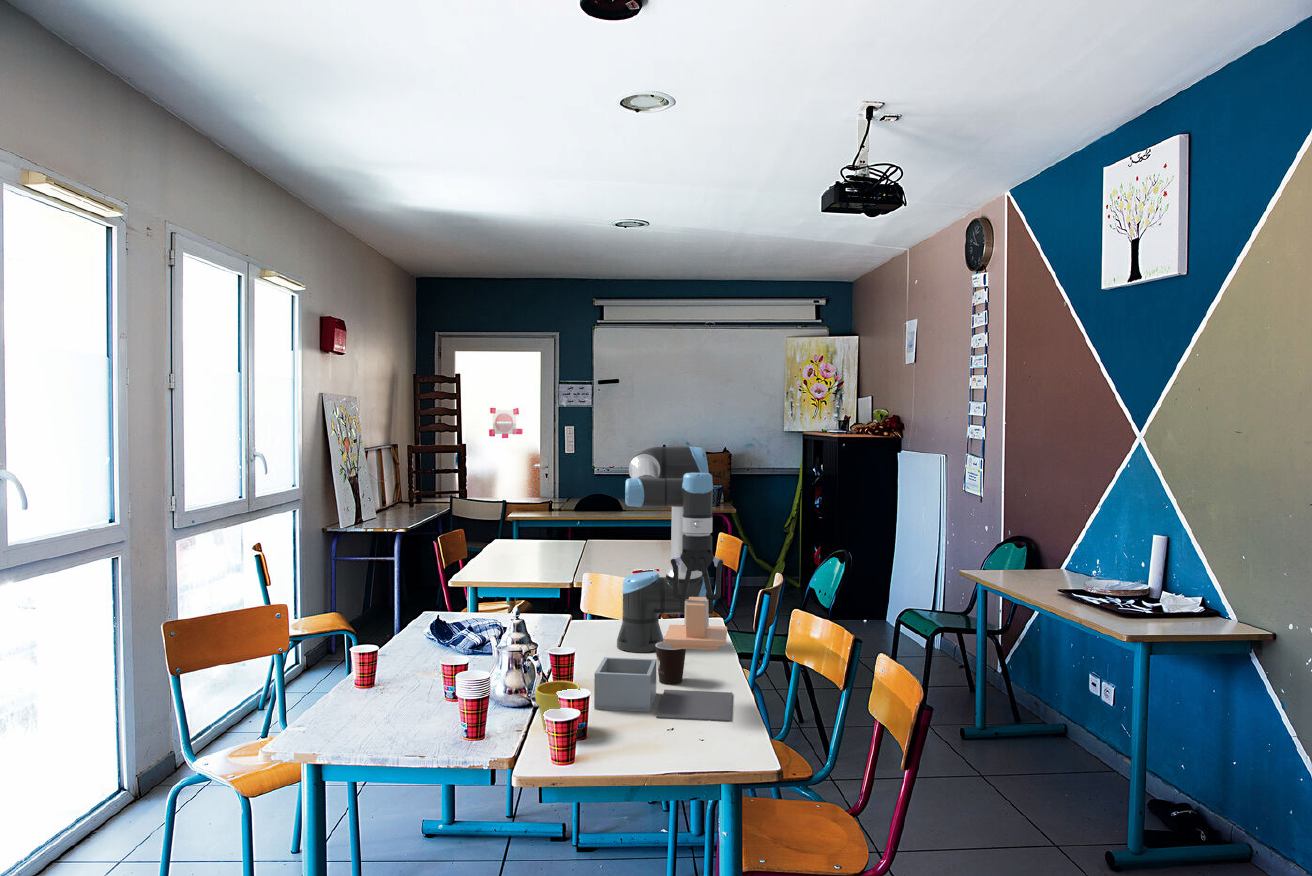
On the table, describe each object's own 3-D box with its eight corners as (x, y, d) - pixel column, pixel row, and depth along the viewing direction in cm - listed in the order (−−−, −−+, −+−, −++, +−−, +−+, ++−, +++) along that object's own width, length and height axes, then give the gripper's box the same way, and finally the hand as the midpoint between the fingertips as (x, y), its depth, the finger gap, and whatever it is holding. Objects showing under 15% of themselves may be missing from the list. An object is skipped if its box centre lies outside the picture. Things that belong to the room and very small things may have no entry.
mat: (664, 691, 214) (664, 689, 214) (732, 694, 213) (732, 692, 213) (656, 718, 195) (656, 716, 195) (730, 721, 193) (730, 719, 193)
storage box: (604, 690, 214) (604, 657, 214) (656, 693, 213) (656, 659, 213) (594, 709, 200) (594, 673, 200) (649, 711, 199) (650, 675, 199)
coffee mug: (683, 687, 218) (683, 650, 218) (652, 684, 219) (652, 648, 219) (690, 674, 229) (690, 639, 229) (660, 672, 231) (660, 637, 231)
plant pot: (530, 736, 182) (531, 693, 182) (540, 720, 193) (540, 679, 192) (575, 738, 182) (576, 695, 181) (583, 721, 192) (583, 680, 192)
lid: (669, 634, 211) (670, 594, 211) (727, 636, 210) (727, 596, 209) (663, 650, 196) (664, 606, 196) (725, 652, 195) (725, 608, 195)
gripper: (661, 535, 200) (660, 628, 200) (732, 536, 198) (731, 631, 198) (664, 531, 208) (663, 621, 208) (732, 532, 206) (731, 623, 206)
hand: (696, 626), depth 203 cm, fingers closed on lid, 4 cm apart
